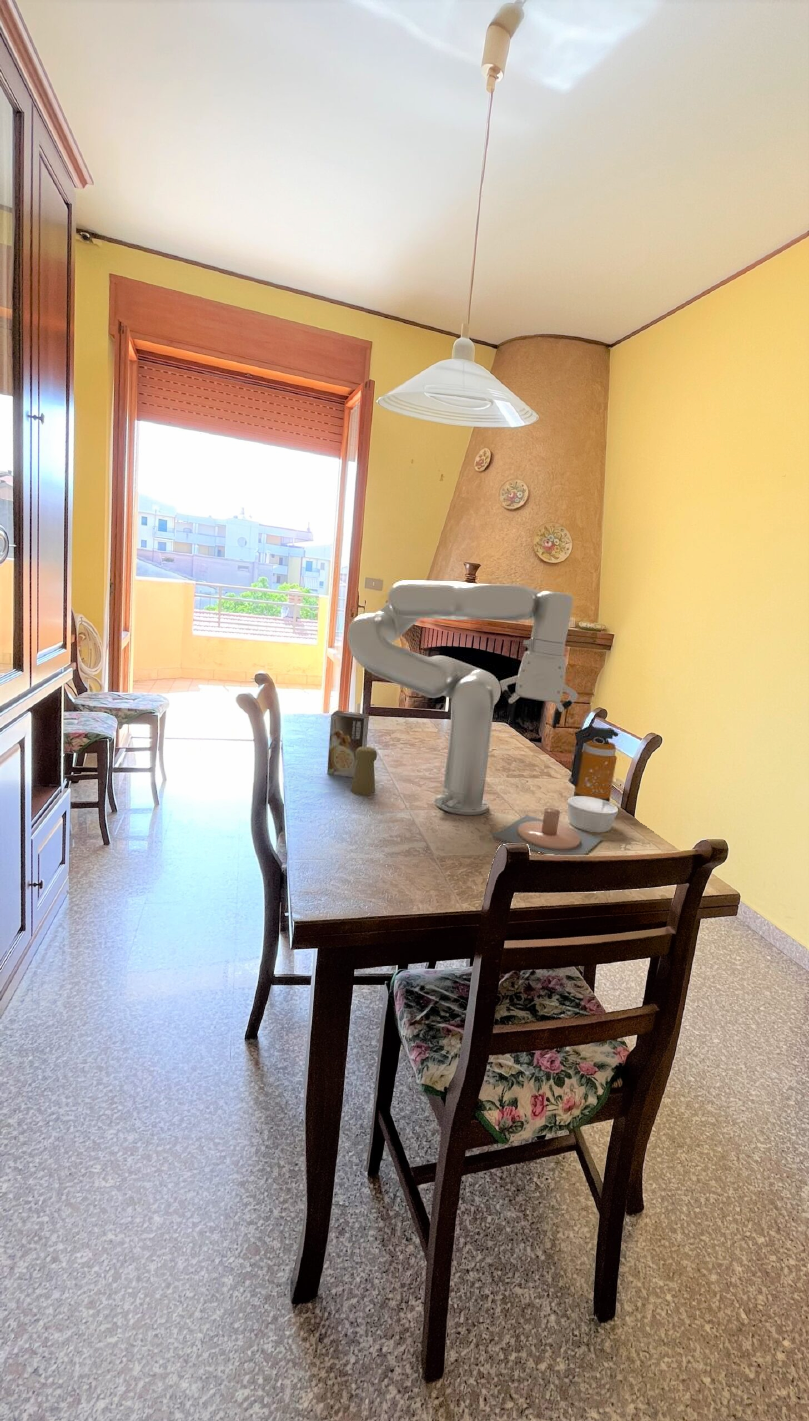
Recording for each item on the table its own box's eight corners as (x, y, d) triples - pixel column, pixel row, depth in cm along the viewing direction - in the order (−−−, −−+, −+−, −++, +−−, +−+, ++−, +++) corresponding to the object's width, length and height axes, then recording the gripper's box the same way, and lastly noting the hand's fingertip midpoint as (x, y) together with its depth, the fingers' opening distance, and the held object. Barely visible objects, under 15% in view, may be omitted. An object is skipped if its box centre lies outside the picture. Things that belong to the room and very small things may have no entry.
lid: (566, 855, 125) (571, 827, 124) (507, 836, 132) (511, 809, 131) (587, 837, 136) (592, 811, 135) (532, 821, 143) (535, 795, 142)
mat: (574, 865, 122) (574, 863, 122) (491, 837, 132) (491, 835, 132) (602, 839, 137) (602, 838, 137) (526, 816, 147) (526, 815, 147)
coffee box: (365, 772, 168) (370, 714, 165) (359, 779, 162) (365, 718, 159) (332, 767, 170) (337, 709, 167) (325, 774, 164) (330, 713, 161)
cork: (378, 790, 155) (382, 747, 153) (369, 797, 149) (373, 752, 147) (356, 785, 157) (360, 743, 155) (346, 792, 151) (350, 748, 149)
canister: (613, 809, 158) (626, 732, 155) (569, 805, 158) (581, 728, 155) (603, 797, 167) (615, 724, 163) (561, 793, 167) (572, 720, 163)
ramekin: (624, 835, 141) (628, 813, 140) (578, 835, 139) (582, 812, 138) (598, 817, 152) (602, 796, 151) (556, 816, 149) (559, 795, 148)
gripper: (507, 643, 136) (493, 720, 139) (588, 656, 133) (572, 734, 137) (507, 641, 143) (494, 714, 146) (584, 653, 141) (569, 727, 144)
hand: (532, 723), depth 142 cm, fingers open, 9 cm apart
